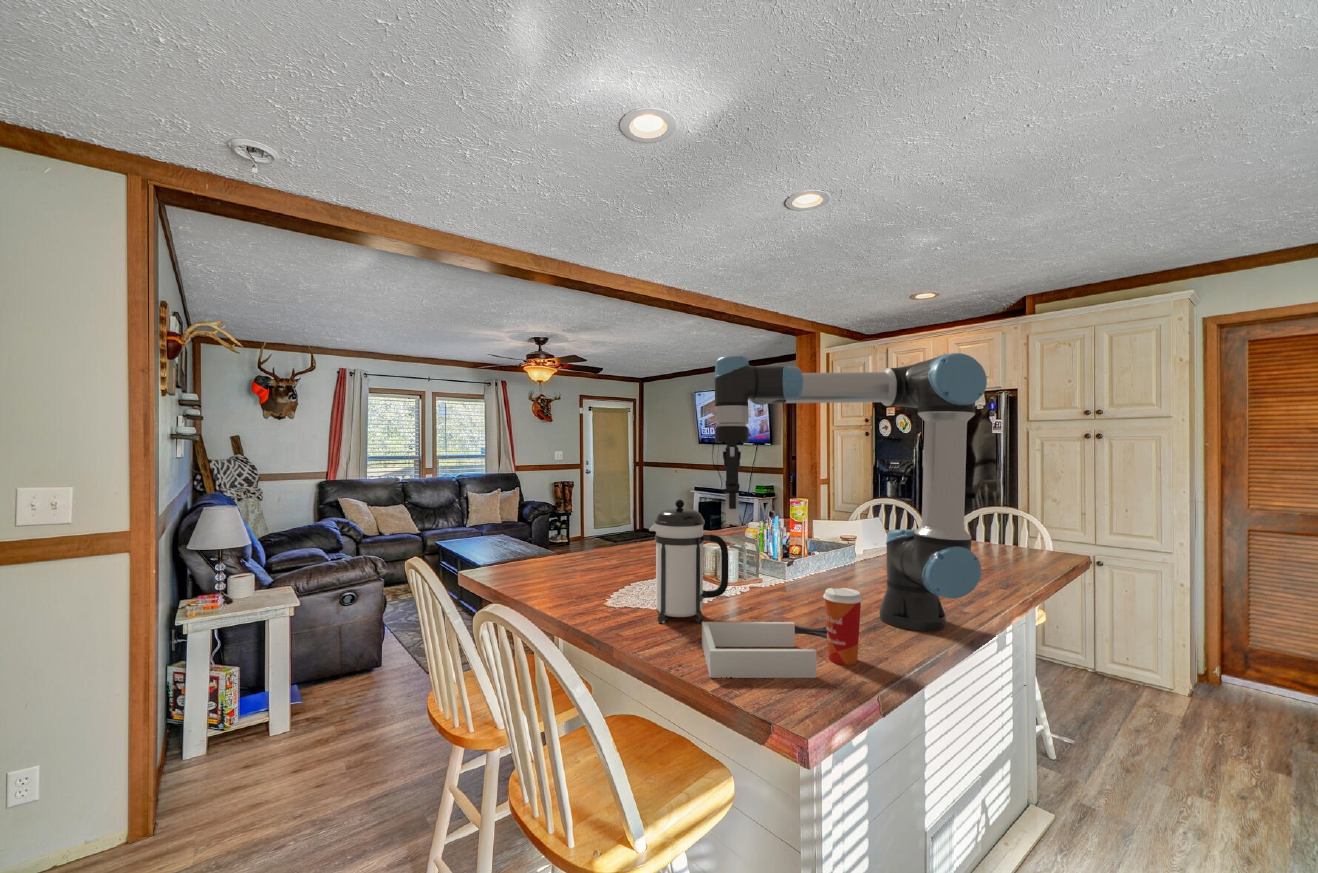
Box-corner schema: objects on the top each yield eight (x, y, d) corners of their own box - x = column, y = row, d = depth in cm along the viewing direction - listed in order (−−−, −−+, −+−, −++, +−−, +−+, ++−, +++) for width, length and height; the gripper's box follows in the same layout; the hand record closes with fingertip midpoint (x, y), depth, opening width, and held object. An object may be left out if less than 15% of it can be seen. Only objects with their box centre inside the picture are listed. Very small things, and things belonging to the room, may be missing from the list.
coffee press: (682, 631, 131) (682, 504, 131) (638, 616, 142) (638, 499, 143) (730, 616, 142) (730, 499, 143) (685, 603, 154) (686, 495, 155)
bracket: (776, 623, 139) (776, 612, 139) (838, 627, 136) (838, 615, 136) (778, 644, 125) (778, 631, 125) (847, 648, 122) (847, 636, 122)
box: (793, 644, 122) (793, 622, 122) (816, 677, 105) (816, 651, 105) (701, 644, 122) (702, 621, 122) (710, 677, 105) (710, 651, 105)
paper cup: (817, 653, 117) (817, 587, 118) (852, 652, 118) (852, 586, 118) (832, 668, 110) (832, 597, 110) (869, 667, 110) (869, 596, 110)
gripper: (715, 427, 138) (715, 512, 138) (713, 423, 113) (714, 527, 113) (746, 427, 137) (746, 513, 137) (751, 423, 112) (751, 528, 112)
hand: (731, 520), depth 125 cm, fingers open, 13 cm apart
